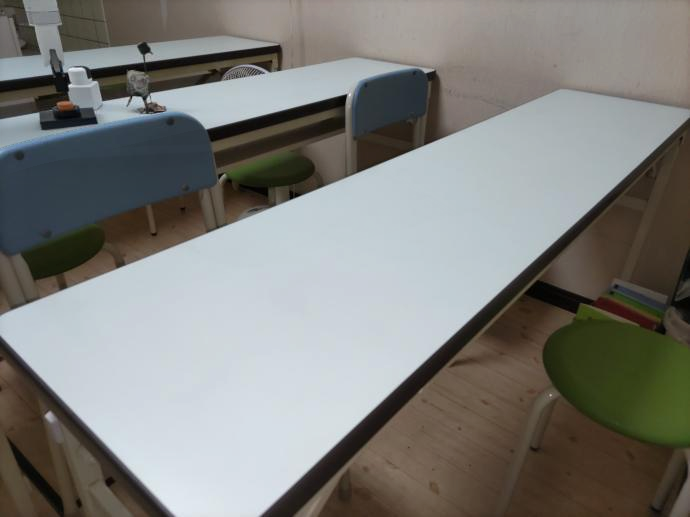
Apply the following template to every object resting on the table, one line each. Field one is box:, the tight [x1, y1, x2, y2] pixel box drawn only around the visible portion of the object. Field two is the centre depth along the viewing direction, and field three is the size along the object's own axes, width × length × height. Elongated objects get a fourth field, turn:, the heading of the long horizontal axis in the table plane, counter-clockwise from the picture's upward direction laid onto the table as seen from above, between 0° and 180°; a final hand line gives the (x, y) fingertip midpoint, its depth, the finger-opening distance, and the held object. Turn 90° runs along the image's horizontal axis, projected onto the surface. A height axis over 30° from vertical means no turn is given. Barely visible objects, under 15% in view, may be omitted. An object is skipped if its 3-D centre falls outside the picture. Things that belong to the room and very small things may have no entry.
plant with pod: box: [125, 40, 167, 115], centre depth 151 cm, size 8×11×20 cm
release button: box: [56, 100, 74, 110], centre depth 142 cm, size 4×4×2 cm
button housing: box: [38, 105, 99, 131], centre depth 144 cm, size 14×11×4 cm
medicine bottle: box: [67, 65, 104, 111], centre depth 155 cm, size 7×7×12 cm
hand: (63, 91), depth 140 cm, fingers closed
